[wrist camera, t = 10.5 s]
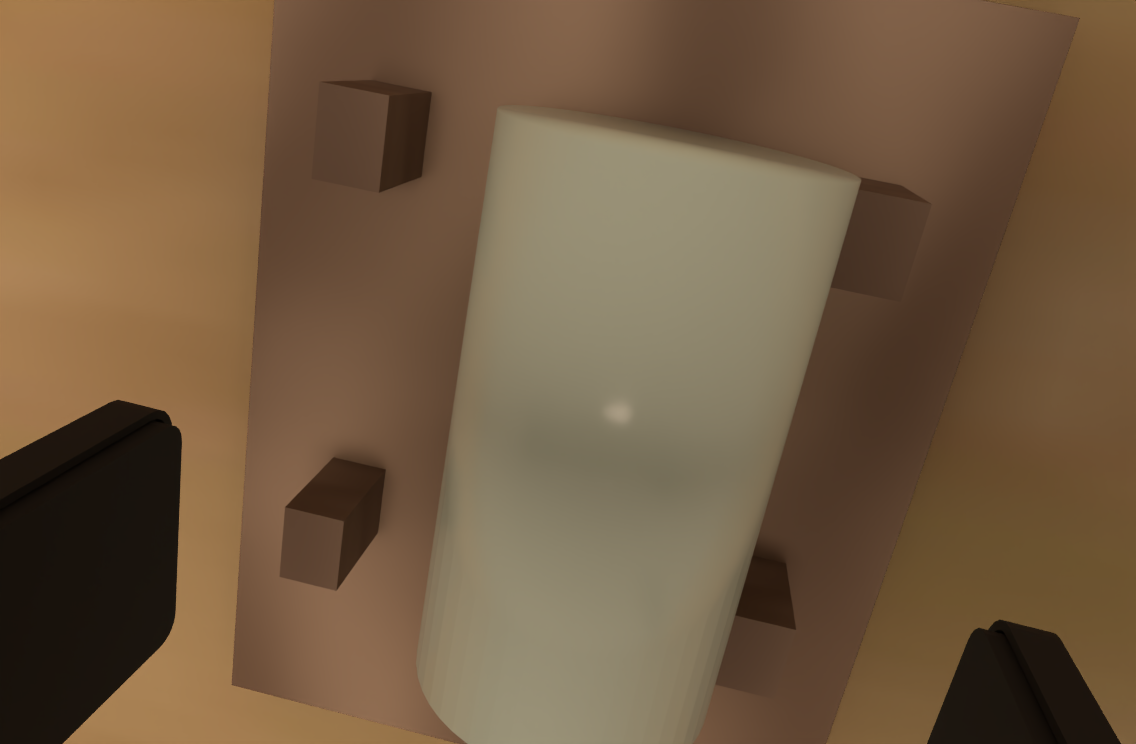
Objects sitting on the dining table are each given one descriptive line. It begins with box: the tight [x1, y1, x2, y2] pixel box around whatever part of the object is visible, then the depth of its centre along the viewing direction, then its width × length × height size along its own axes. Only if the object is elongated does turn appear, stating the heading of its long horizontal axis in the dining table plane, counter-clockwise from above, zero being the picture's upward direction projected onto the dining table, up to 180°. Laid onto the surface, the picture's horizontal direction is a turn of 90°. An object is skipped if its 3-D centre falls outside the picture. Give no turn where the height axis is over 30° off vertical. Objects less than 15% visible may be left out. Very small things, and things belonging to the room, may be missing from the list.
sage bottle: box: [416, 105, 861, 744], centre depth 16 cm, size 14×6×6 cm, turn 170°
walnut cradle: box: [232, 0, 1080, 744], centre depth 18 cm, size 14×18×3 cm
